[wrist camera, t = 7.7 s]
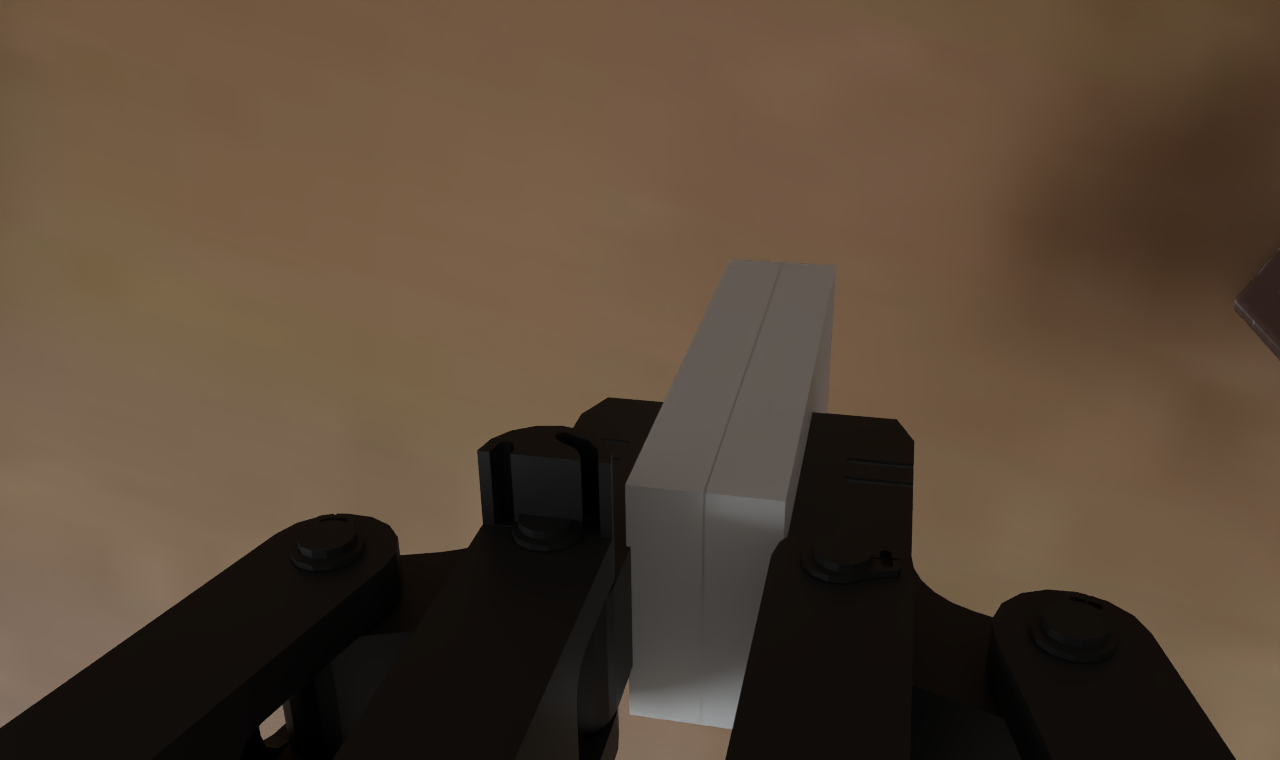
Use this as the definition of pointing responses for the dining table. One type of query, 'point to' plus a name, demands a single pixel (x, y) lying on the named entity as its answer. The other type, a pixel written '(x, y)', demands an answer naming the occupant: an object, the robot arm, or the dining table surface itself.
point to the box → (1263, 304)
